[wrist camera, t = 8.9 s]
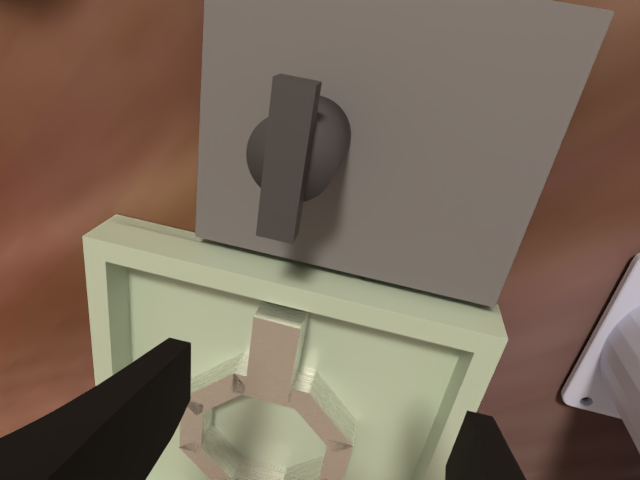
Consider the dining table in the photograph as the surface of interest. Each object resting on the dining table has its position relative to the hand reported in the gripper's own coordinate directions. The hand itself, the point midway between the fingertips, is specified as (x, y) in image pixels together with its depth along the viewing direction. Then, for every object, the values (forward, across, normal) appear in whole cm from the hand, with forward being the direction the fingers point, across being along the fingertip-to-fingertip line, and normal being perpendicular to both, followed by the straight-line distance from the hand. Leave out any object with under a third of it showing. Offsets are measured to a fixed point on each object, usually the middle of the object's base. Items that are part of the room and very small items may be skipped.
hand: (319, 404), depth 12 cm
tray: (+9, +3, +11) cm, 14 cm away
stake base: (+9, 0, -5) cm, 10 cm away
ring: (+9, +3, +9) cm, 13 cm away
